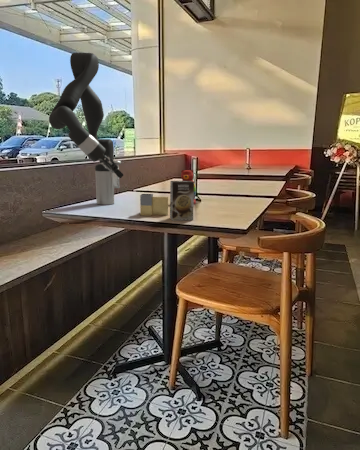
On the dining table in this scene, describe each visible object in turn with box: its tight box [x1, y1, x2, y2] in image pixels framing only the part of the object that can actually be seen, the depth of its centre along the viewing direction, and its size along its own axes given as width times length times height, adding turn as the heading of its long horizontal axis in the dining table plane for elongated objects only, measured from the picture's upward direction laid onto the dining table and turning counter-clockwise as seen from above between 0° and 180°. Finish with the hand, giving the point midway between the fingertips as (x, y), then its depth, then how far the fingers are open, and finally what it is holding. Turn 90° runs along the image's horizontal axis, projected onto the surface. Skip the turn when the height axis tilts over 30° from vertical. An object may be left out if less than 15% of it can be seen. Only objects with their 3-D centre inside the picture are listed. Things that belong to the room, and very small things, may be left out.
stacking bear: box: [180, 169, 197, 205], centre depth 198 cm, size 11×10×18 cm
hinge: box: [139, 193, 169, 217], centre depth 167 cm, size 12×12×9 cm
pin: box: [113, 160, 122, 189], centre depth 159 cm, size 5×5×12 cm
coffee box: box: [169, 180, 195, 222], centre depth 153 cm, size 9×6×16 cm
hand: (120, 176), depth 161 cm, fingers closed on pin, 2 cm apart
